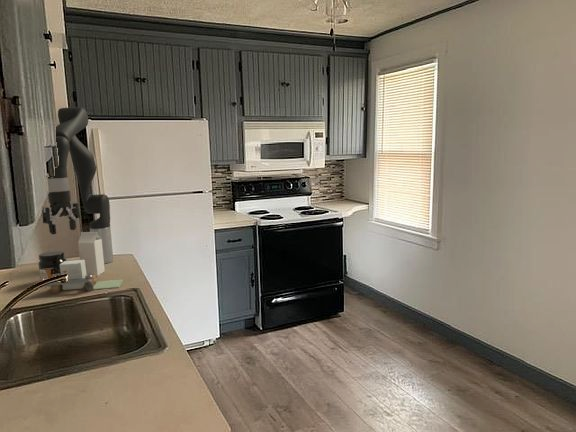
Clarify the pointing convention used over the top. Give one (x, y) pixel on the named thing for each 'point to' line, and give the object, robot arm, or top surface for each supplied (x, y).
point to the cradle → (88, 285)
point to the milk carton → (91, 252)
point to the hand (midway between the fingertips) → (63, 231)
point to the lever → (72, 281)
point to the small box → (73, 273)
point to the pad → (107, 284)
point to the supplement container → (50, 264)
